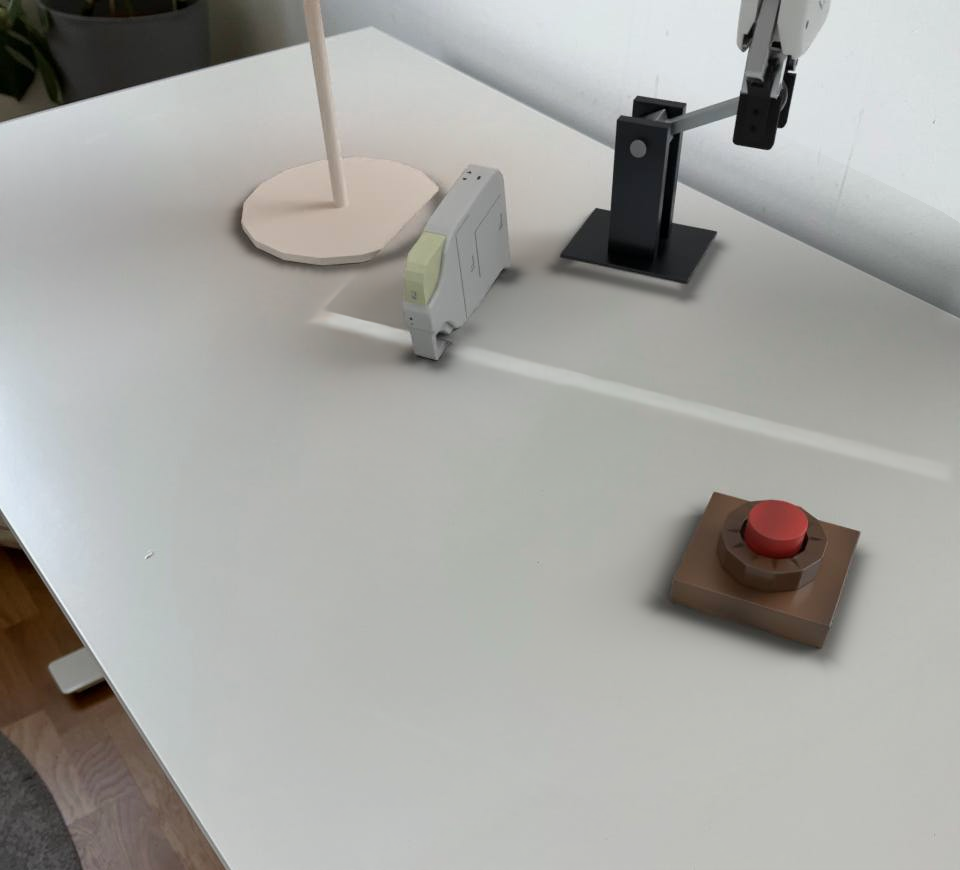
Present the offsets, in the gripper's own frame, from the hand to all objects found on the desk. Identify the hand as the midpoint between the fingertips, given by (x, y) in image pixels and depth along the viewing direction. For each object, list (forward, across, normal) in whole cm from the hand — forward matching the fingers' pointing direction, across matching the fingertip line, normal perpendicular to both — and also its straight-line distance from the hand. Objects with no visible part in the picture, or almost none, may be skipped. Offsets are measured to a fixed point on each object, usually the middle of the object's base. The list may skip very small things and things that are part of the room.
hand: (759, 132), depth 79 cm
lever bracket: (+12, 0, +9) cm, 15 cm away
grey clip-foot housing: (+13, -15, +20) cm, 28 cm away
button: (+9, -35, -12) cm, 38 cm away
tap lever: (+1, 0, +4) cm, 4 cm away
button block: (+12, -35, -12) cm, 39 cm away
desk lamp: (+13, -3, +39) cm, 41 cm away
